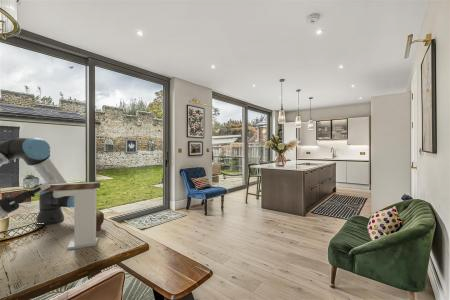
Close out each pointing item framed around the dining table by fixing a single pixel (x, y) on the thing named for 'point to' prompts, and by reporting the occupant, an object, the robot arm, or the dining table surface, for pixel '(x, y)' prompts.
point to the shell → (99, 219)
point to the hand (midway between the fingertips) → (52, 182)
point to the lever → (71, 186)
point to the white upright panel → (83, 217)
